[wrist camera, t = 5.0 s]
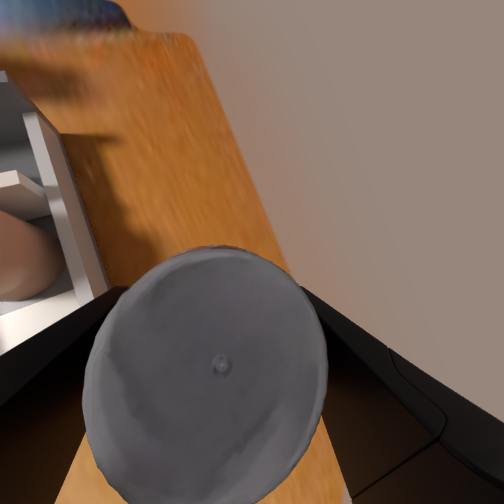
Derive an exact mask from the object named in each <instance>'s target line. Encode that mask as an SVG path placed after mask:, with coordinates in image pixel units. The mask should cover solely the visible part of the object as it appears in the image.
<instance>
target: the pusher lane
mask: <svg viewBox="0 0 504 504" xmlns="http://www.w3.org/2000/svg"><path fill="white" fill-rule="evenodd" d="M13 170H17V171H19V172H20V173H21V174H23V175H24V176H26V177H27V178H29V179H30V180H32V181H33V182H34V183H36V184H37V185H39V186H40V187H42V188H43V189H45V192H46V196H47V199H48V202H49V206H50V209H51V212H52V214H50V215H46V216H43V217H39V218H35V219H31V220H27V221H26V222H28V223H30V224H32V225H35V226H37V227H39V228H41V229H44V230H46V231H48V232H50V233H52V234H53V235H55V236H56V237H57V238H58V239H59V240H60V243H61V246H62V249H63V253H64V256H65V259H66V262H65V266H64V269H63V271H62V273H61V275H60V276H59V278H58V279H57V280H56V281H55V282H54V283H53V284H52V285H51V286H50V287H49V288H48V289H47V290H45V291H44V292H42V293H40V294H38V295H37V296H34V297H32V298H29V299H26V300H22V301H17V302H0V355H2V354H4V353H5V352H7V351H9V350H10V349H12V348H14V347H15V346H17V345H19V344H20V343H22V342H23V341H25V340H27V339H28V338H30V337H32V336H33V335H35V334H37V333H38V332H40V331H42V330H43V329H45V328H47V327H48V326H50V325H52V324H53V323H55V322H57V321H58V320H60V319H62V318H63V317H65V316H67V315H68V314H70V313H72V312H73V311H75V310H77V309H78V308H80V307H82V306H83V305H85V304H86V303H88V302H90V301H91V300H93V299H95V298H96V297H98V296H100V295H101V294H103V293H105V292H106V291H108V290H110V289H111V286H110V283H109V280H108V277H107V274H106V271H105V268H104V265H103V262H102V259H101V256H100V253H99V250H98V246H97V243H96V240H95V237H94V234H93V231H92V228H91V225H90V222H89V219H88V216H87V213H86V210H85V207H84V204H83V201H82V198H81V195H80V192H79V189H78V186H77V183H76V180H75V177H74V174H73V171H72V168H71V165H70V162H69V159H68V156H67V153H66V150H65V147H64V144H63V141H62V138H61V135H60V133H59V132H58V130H57V129H56V128H55V127H54V126H53V125H52V124H51V122H50V121H49V120H48V119H47V118H46V117H45V116H44V115H43V113H42V112H41V111H40V110H39V109H38V108H37V107H36V105H35V104H34V103H33V102H32V101H31V100H30V99H29V97H28V96H27V95H26V94H25V93H24V92H23V91H22V90H21V88H20V87H19V86H18V85H17V84H16V83H15V82H14V80H13V79H12V78H11V77H10V76H9V75H8V74H7V72H6V71H0V173H3V172H8V171H13Z"/></svg>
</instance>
